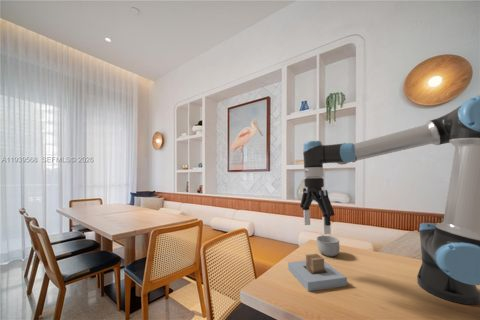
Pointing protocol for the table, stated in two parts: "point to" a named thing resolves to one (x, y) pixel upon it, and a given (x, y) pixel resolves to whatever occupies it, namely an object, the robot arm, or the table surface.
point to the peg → (315, 264)
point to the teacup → (328, 245)
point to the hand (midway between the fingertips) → (316, 228)
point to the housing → (317, 276)
